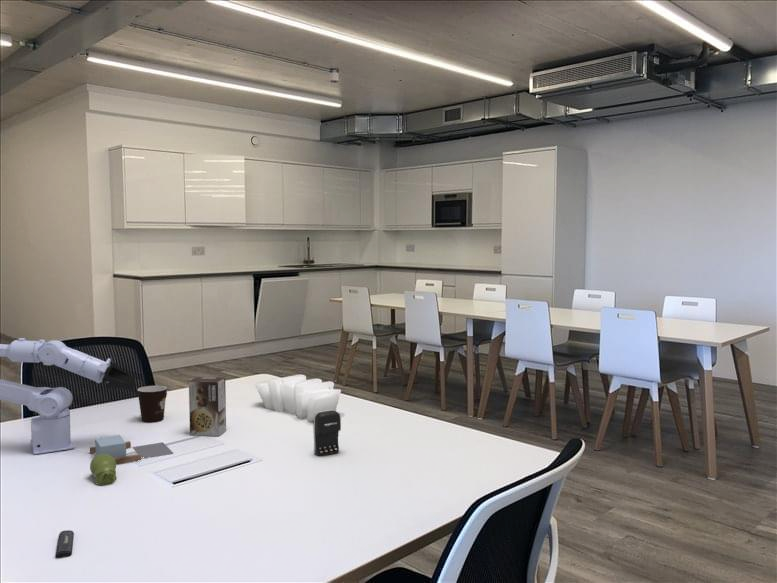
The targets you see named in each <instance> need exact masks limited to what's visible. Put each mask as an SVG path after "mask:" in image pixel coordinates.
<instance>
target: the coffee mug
mask: <svg viewBox="0 0 777 583" xmlns="http://www.w3.org/2000/svg"><path fill="white" fill-rule="evenodd" d="M167 390H168V389H167V387H166V386H164V385H147V386H141V387H139V388H137V396H138V402H139V403H138V404H139V409H140V410H139V411H140V416H141V422H143V423H146V424H153V423H160V422H162V421H164V417H165V408H166V398H167V395H168V392H167Z"/></svg>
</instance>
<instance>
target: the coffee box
mask: <svg viewBox="0 0 777 583" xmlns="http://www.w3.org/2000/svg"><path fill="white" fill-rule="evenodd" d="M188 400H189V401H188V405H189V410H188V411H189V413H188V414H189V436H201V437H203V436H204V437H206V436H207V437H220V436H221V435H223V434H224V433H225V432H227V407H226V406H227V401H226V400H227V397H226V377H224V376H223V377H222V376H221V377H218V376H217V377H215V376H196V377H194V378H192V379H191V380H189V381H188Z"/></svg>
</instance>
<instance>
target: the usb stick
mask: <svg viewBox="0 0 777 583" xmlns="http://www.w3.org/2000/svg"><path fill="white" fill-rule="evenodd" d="M74 536H75V533H74V531H73V530H69V529H67V530H62V531H60V532H59V534H58V538H57V545H56V551H55V554H54V555H55V557H56V558H57V559H63V558H68V557H70V556H72V554H73V548H74V547H73V546H74Z"/></svg>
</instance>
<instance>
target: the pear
mask: <svg viewBox="0 0 777 583" xmlns="http://www.w3.org/2000/svg"><path fill="white" fill-rule="evenodd" d="M116 469H117V465H116V462H115V460H114V458H113V457H112V456H111V455H109V454H99V455H95V456H94V457H93V458H92V459H91V461H90V464H89V470H90V473H91V474H92V475H93V476H94V477H95V483H96V484H97V485H98V486H102V485H110V484H114V483H115V482H116V480H117V471H116Z"/></svg>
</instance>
